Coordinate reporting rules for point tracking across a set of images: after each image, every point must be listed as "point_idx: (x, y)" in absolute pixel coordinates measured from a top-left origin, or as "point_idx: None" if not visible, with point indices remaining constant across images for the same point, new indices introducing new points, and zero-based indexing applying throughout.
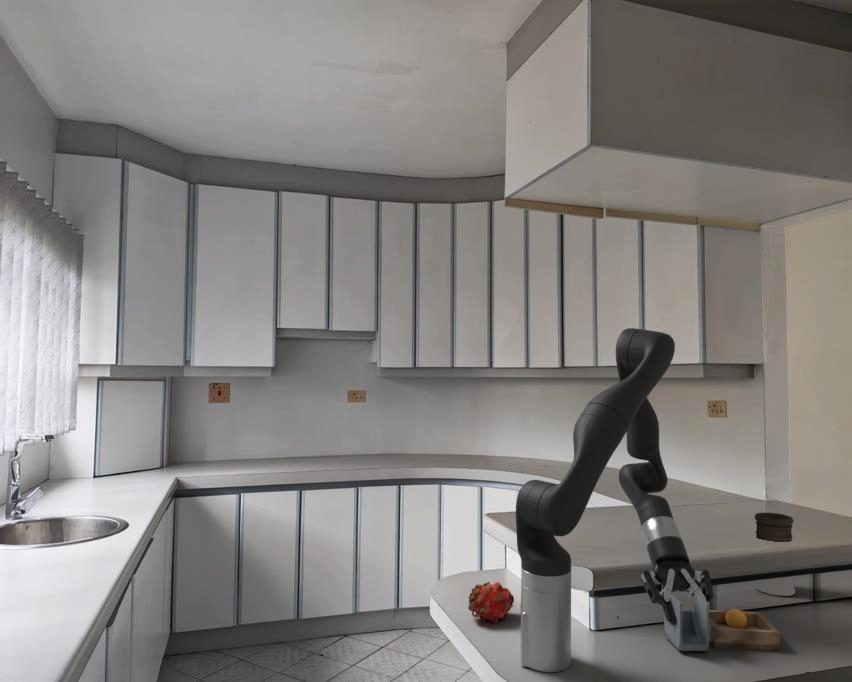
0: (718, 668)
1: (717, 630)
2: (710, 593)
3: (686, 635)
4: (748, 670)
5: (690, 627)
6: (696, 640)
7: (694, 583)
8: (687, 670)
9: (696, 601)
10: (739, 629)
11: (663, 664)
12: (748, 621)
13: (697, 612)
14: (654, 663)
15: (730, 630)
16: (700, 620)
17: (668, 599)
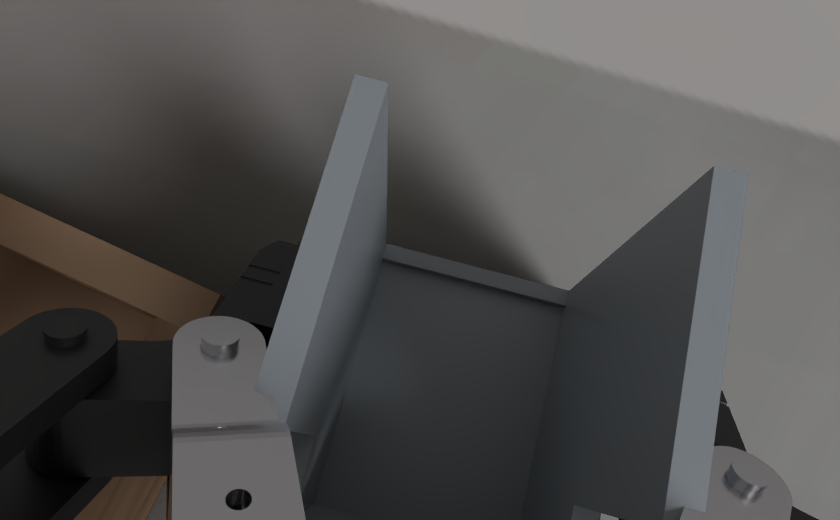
0: (452, 91)
1: (204, 290)
2: (55, 331)
3: (401, 449)
4: (298, 22)
5: (312, 508)
6: (387, 348)
7: (207, 490)
8: (649, 128)
9: (310, 379)
10: (17, 228)
11: (749, 229)
12: None
13: (330, 364)
14: (798, 257)
15: (105, 243)
16: (353, 306)
17: (724, 464)
